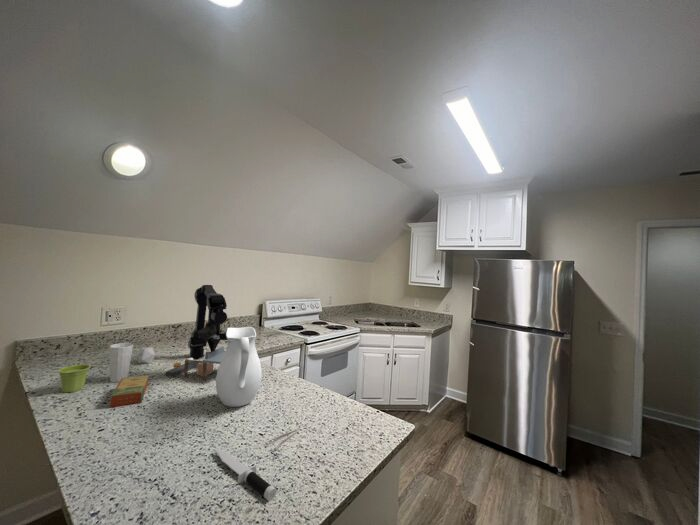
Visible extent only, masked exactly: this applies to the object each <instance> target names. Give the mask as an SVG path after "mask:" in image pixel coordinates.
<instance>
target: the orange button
mask: <svg viewBox="0 0 700 525" xmlns="http://www.w3.org/2000/svg"><path fill="white" fill-rule="evenodd" d="M181 365H182V363H181V362H175V363H173V368H175V367H180V366H181Z"/></svg>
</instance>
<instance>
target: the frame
mask: <svg viewBox="0 0 700 525" xmlns="http://www.w3.org/2000/svg"><path fill="white" fill-rule="evenodd" d="M209 352H210V351H205V353H204V355H205V356H204V357H205V358H204V359H206V353H209ZM188 362H195V363H199V364H200V363H203V375H201V376H202V378H201V380H202V381H206V379H207V378H206V377H207V376H206V365H207V362H202V360H197V359H193V360H188V359H187V358H186V359H184V364H185V367H184V373H183V378H184V379H186V378H188V372H189V371H188Z"/></svg>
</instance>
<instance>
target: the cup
mask: <svg viewBox="0 0 700 525" xmlns="http://www.w3.org/2000/svg"><path fill="white" fill-rule="evenodd" d="M108 348H109V349H108V350H109V376H110V377H109V380H110V382H111V383H119V382H120V381H121V379H122V378H129V372H130V366H131V360H132V354H133V349H134V343H133V342H122V343H121V342H120V343H115V344H114V343H113V344H111V345H109V347H108Z"/></svg>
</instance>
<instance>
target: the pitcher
mask: <svg viewBox="0 0 700 525" xmlns="http://www.w3.org/2000/svg"><path fill="white" fill-rule="evenodd" d="M225 332H226V337H227V340H226V341H227V344H226V349H225V351H226V352H225V354H224V356H223V358H222V361H221V363H220V364H218V365H219V366H218V368H217V372H216V378H215V389H216V393H217V395H218V398H219V400H220V401H221V403H222V404H223V405H224V406H226V407H229V408H232V407H233V408H237V407H242V406H243V407H244V406H246V405H248V404H250V403H252V401H254V399H255V397H256V396H257V393H258V391H259V389H260V387H261V384H262V379H263V378H262V374H263V372H262V365H261V360H260V358H259V355H258V354H259V353H258V352H257V349H256V342H255V341H256V338H257V333H256V329H255V327H252V326H245V327H244V326H243V327H228V328H227V329H226V331H225Z"/></svg>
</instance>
